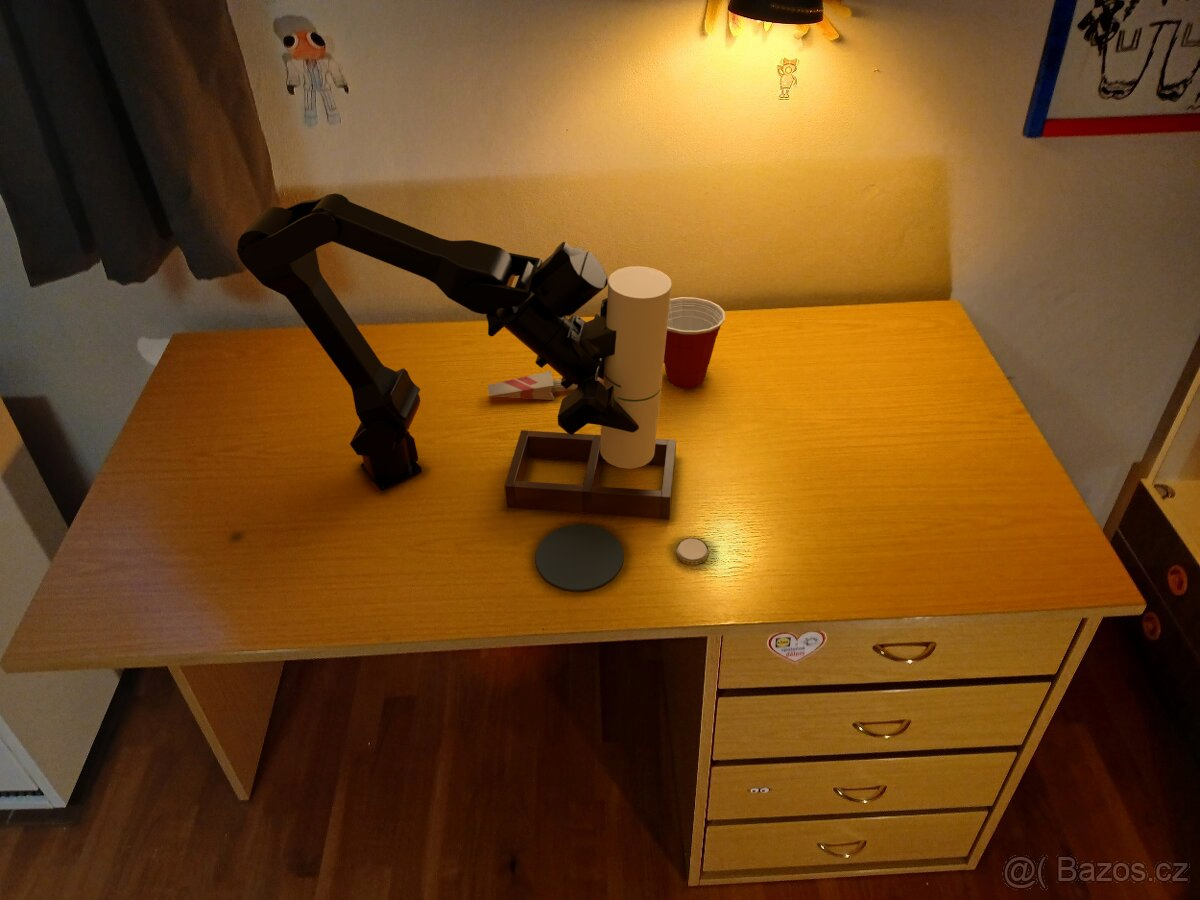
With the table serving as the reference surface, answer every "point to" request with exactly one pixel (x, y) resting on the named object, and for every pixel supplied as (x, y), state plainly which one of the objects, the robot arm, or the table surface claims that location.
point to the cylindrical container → (636, 360)
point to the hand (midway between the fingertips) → (639, 412)
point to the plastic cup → (690, 340)
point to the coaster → (579, 557)
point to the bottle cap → (692, 551)
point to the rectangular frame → (589, 493)
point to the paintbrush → (530, 387)
